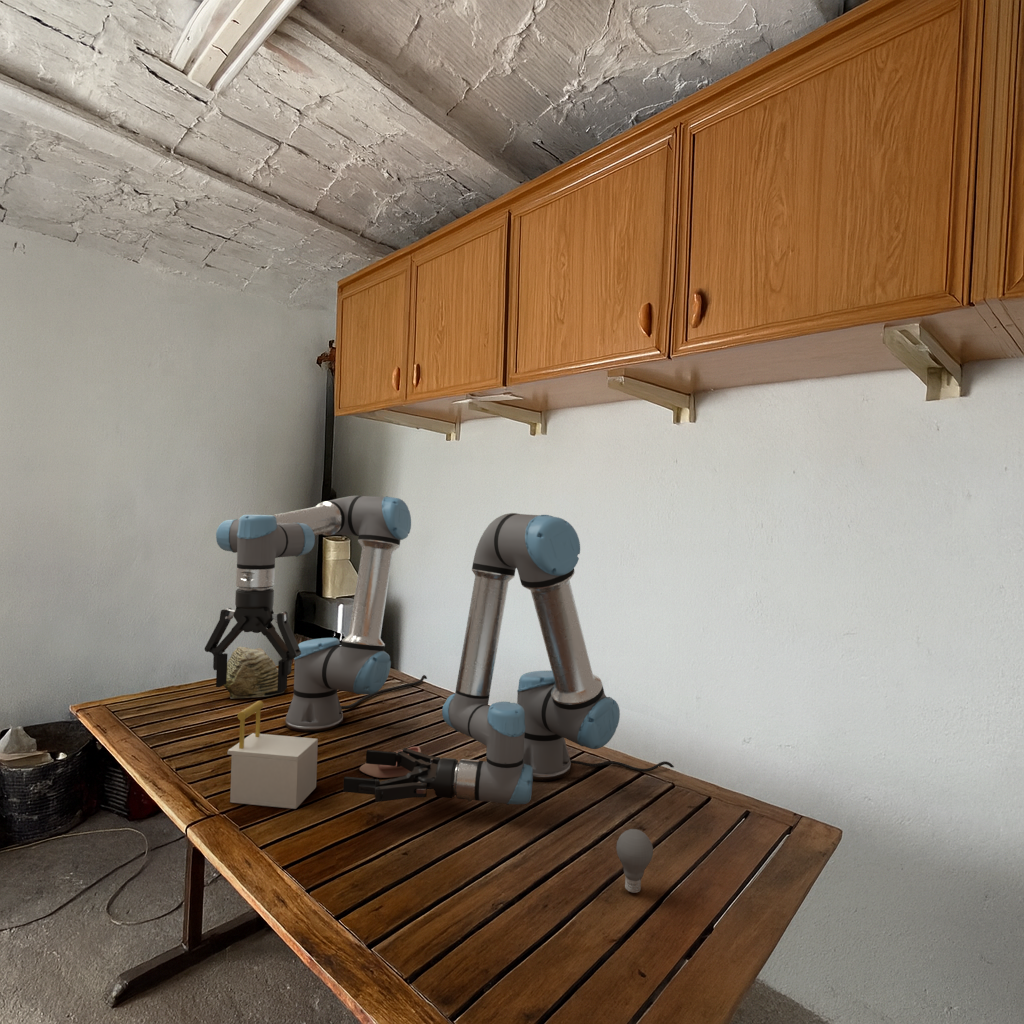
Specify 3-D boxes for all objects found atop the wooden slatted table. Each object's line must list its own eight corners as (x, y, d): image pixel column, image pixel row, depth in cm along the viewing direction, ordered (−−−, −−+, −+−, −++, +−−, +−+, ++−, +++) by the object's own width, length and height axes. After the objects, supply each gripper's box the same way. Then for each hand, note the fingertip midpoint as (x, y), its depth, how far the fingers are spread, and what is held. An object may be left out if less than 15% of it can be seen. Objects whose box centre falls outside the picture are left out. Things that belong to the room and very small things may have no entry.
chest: (229, 802, 130) (231, 755, 129) (254, 781, 139) (256, 737, 139) (295, 809, 128) (297, 761, 128) (316, 787, 138) (317, 742, 138)
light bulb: (610, 879, 108) (613, 822, 108) (644, 879, 109) (647, 822, 109) (619, 902, 102) (622, 840, 102) (655, 901, 103) (658, 840, 103)
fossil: (218, 695, 195) (220, 647, 195) (278, 685, 208) (279, 640, 207) (228, 703, 189) (230, 653, 188) (289, 692, 201) (290, 645, 201)
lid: (227, 754, 130) (228, 713, 129) (252, 736, 139) (253, 698, 139) (297, 760, 128) (299, 718, 128) (317, 742, 138) (319, 703, 138)
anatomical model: (354, 757, 144) (374, 739, 156) (353, 774, 145) (374, 755, 156) (409, 764, 142) (426, 745, 153) (408, 782, 142) (425, 762, 153)
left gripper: (188, 586, 131) (185, 688, 132) (303, 593, 129) (300, 697, 129) (209, 582, 139) (206, 678, 139) (319, 588, 136) (315, 687, 136)
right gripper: (443, 828, 117) (332, 817, 119) (466, 771, 142) (374, 763, 144) (445, 787, 117) (333, 777, 119) (467, 737, 142) (375, 730, 144)
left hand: (251, 687), depth 134 cm, fingers open, 13 cm apart
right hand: (355, 769), depth 131 cm, fingers open, 13 cm apart
